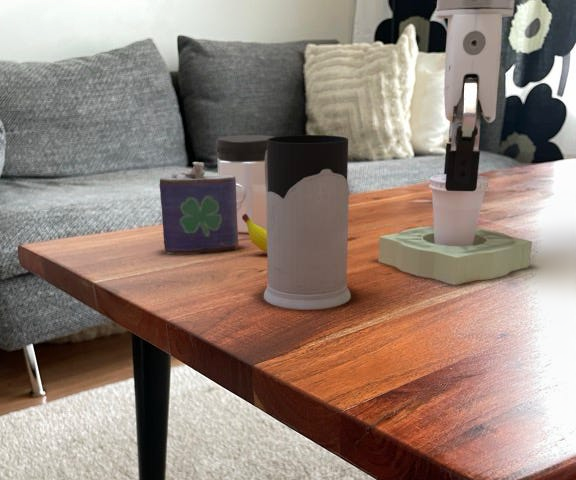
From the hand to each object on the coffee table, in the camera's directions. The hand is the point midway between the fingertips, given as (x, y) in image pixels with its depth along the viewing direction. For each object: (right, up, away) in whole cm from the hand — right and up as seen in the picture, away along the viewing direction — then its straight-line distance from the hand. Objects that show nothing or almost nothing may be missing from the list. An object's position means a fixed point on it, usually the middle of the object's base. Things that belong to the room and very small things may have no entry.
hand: (459, 183), depth 79 cm
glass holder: (-18, -12, -4) cm, 22 cm away
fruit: (-19, -7, +8) cm, 22 cm away
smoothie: (0, -8, +4) cm, 9 cm away
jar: (-24, 0, +23) cm, 33 cm away
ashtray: (0, -8, +4) cm, 9 cm away
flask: (-30, -6, +11) cm, 32 cm away
